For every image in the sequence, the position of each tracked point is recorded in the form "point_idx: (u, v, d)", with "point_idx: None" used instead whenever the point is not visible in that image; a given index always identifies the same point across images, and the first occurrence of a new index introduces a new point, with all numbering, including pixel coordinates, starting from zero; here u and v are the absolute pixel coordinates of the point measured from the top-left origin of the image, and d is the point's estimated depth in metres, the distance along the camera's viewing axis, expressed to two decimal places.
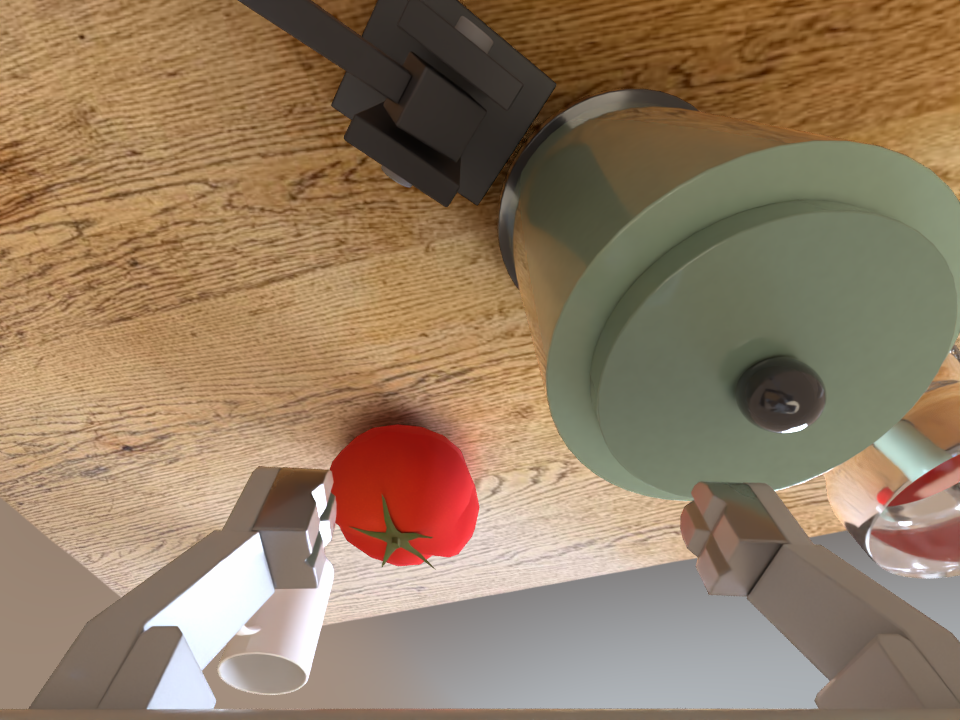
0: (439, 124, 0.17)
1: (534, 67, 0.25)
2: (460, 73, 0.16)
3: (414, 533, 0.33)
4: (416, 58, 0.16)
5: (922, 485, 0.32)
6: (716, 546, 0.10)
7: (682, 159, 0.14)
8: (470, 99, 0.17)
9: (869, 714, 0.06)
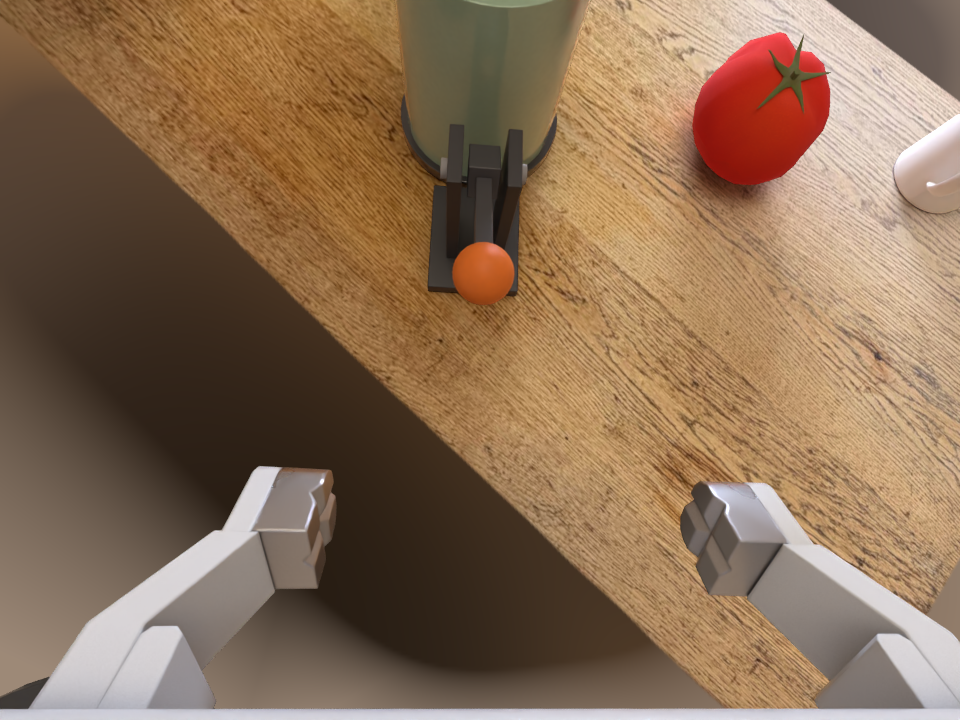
0: (488, 156, 0.32)
1: (434, 200, 0.43)
2: (462, 150, 0.31)
3: (776, 66, 0.38)
4: (468, 183, 0.32)
5: None
6: (716, 546, 0.10)
7: (437, 15, 0.29)
8: (469, 150, 0.32)
9: (869, 714, 0.06)
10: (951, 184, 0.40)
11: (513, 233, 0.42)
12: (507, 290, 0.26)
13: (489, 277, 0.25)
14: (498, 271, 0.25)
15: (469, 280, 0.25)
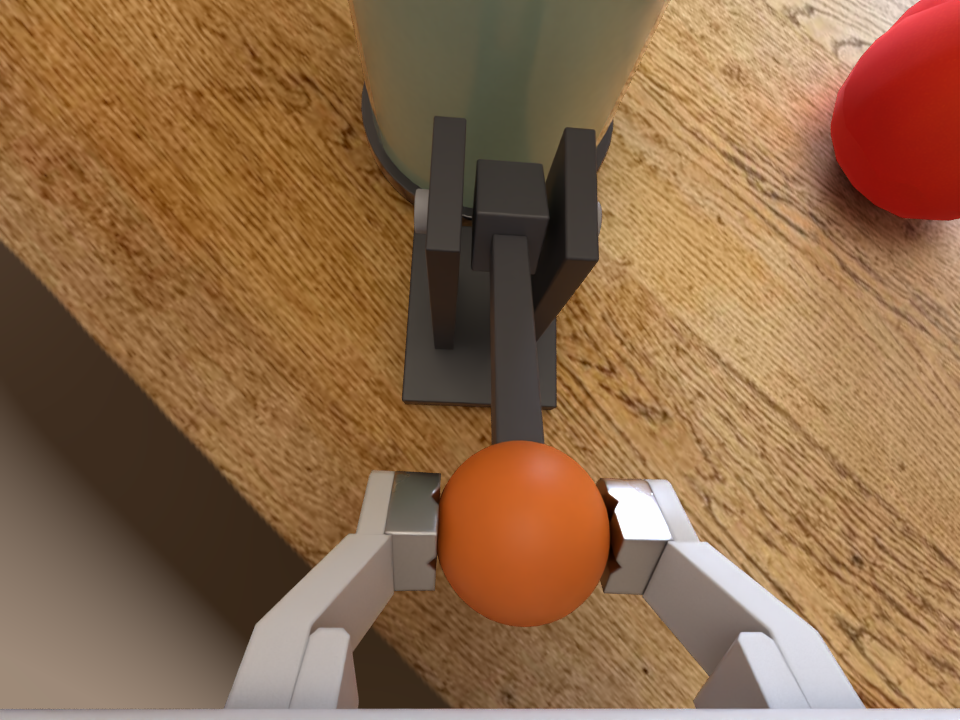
0: (519, 187, 0.14)
1: (414, 248, 0.25)
2: (462, 176, 0.14)
3: None
4: (475, 246, 0.15)
5: None
6: None
7: None
8: (477, 174, 0.15)
9: (869, 714, 0.06)
10: None
11: None
12: None
13: (548, 592, 0.08)
14: (575, 569, 0.08)
15: (484, 593, 0.08)
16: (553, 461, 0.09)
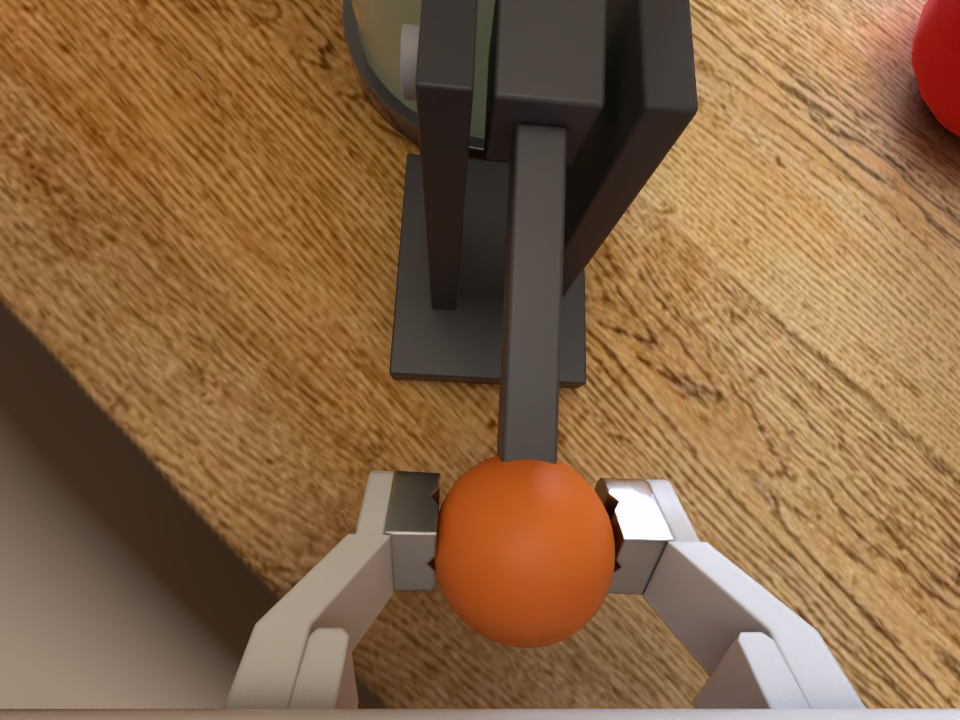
0: (565, 36, 0.09)
1: (406, 184, 0.20)
2: None
3: None
4: (490, 134, 0.10)
5: None
6: None
7: None
8: (499, 3, 0.09)
9: (869, 714, 0.06)
10: None
11: None
12: None
13: (543, 643, 0.08)
14: (573, 627, 0.08)
15: (481, 633, 0.08)
16: (564, 516, 0.08)
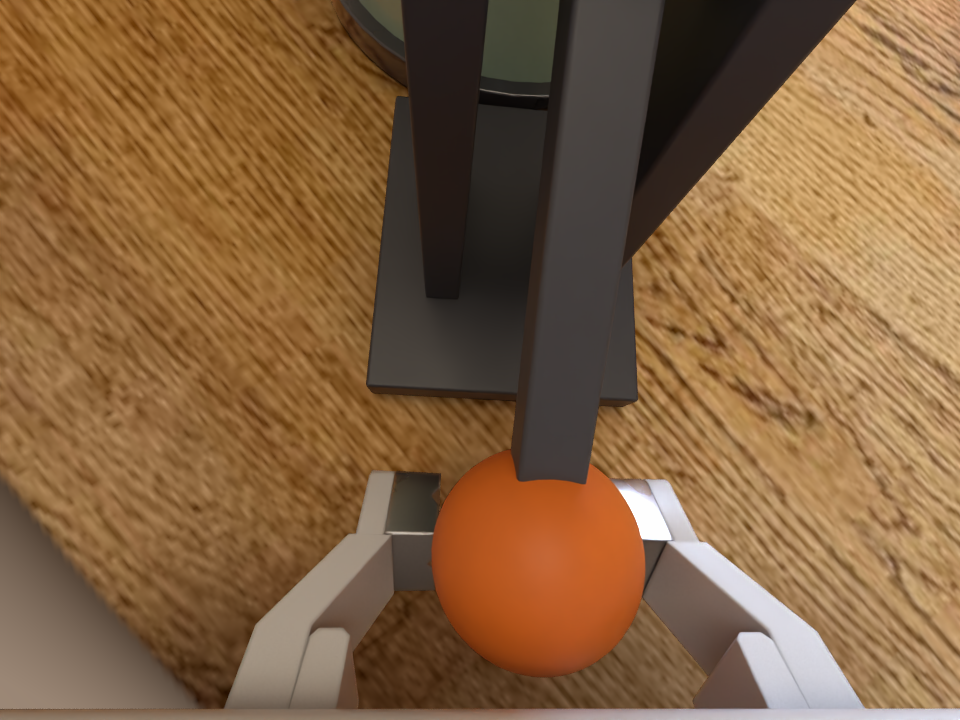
0: None
1: (394, 134, 0.15)
2: None
3: None
4: None
5: None
6: None
7: None
8: None
9: (869, 714, 0.06)
10: None
11: None
12: None
13: None
14: None
15: None
16: (592, 571, 0.06)
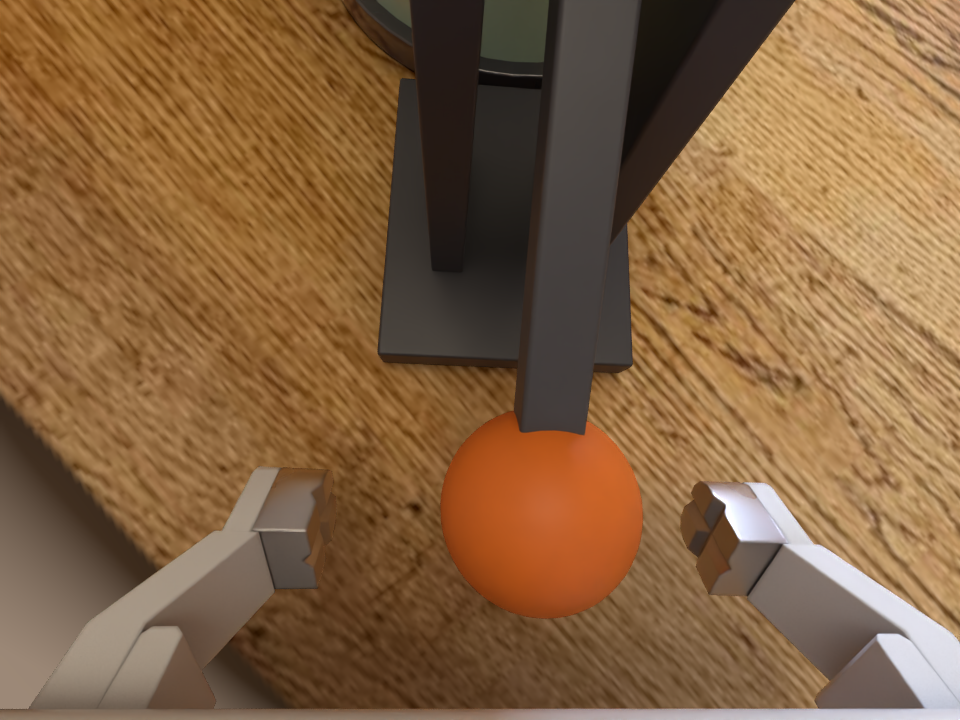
0: None
1: (399, 115, 0.16)
2: None
3: None
4: None
5: None
6: (716, 546, 0.10)
7: None
8: None
9: (869, 714, 0.06)
10: None
11: None
12: None
13: None
14: (589, 606, 0.08)
15: None
16: (591, 510, 0.07)
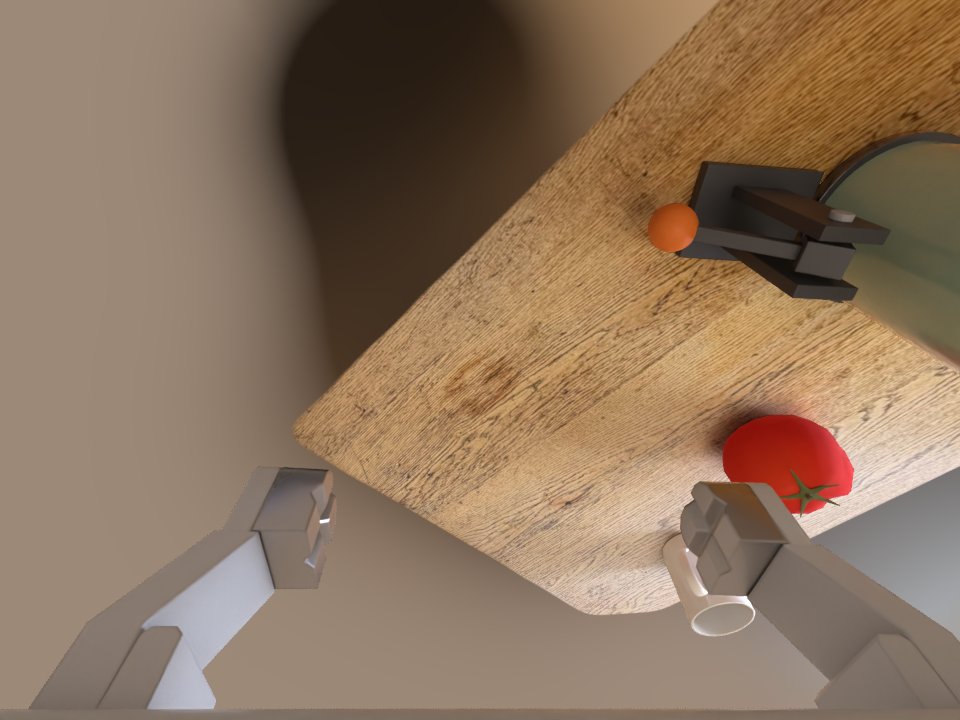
0: (822, 264, 0.31)
1: (806, 172, 0.39)
2: (854, 242, 0.30)
3: (822, 486, 0.47)
4: (806, 236, 0.32)
5: None
6: (716, 546, 0.10)
7: None
8: (841, 247, 0.30)
9: (869, 714, 0.06)
10: (684, 562, 0.58)
11: None
12: None
13: (651, 230, 0.35)
14: (654, 238, 0.35)
15: (655, 215, 0.35)
16: (681, 240, 0.34)
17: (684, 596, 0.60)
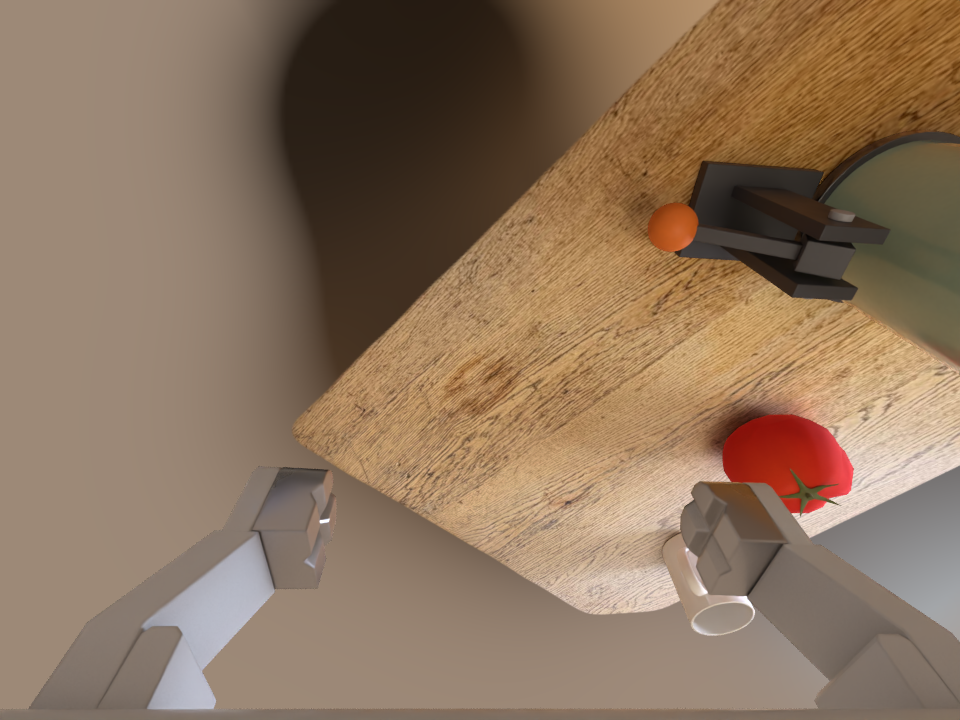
0: (822, 264, 0.31)
1: (806, 171, 0.39)
2: (854, 242, 0.30)
3: (821, 486, 0.47)
4: (805, 236, 0.32)
5: None
6: (716, 546, 0.10)
7: None
8: (841, 246, 0.30)
9: (869, 714, 0.06)
10: (684, 562, 0.58)
11: None
12: None
13: (651, 230, 0.35)
14: (653, 238, 0.35)
15: (655, 215, 0.35)
16: (680, 240, 0.34)
17: (684, 595, 0.60)
